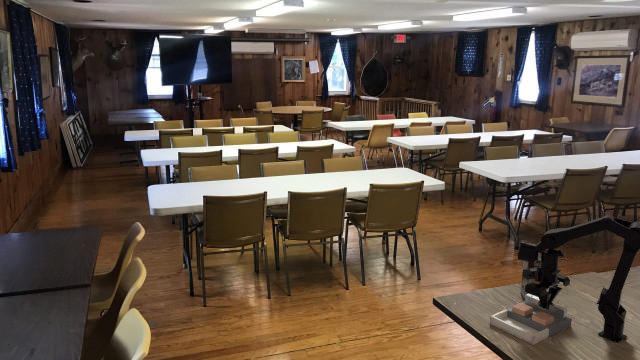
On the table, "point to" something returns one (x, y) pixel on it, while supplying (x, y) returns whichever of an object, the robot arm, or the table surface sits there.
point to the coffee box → (524, 282)
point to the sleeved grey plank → (549, 308)
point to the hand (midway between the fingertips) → (545, 306)
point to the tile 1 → (522, 309)
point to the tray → (518, 328)
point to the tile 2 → (543, 318)
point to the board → (553, 327)
